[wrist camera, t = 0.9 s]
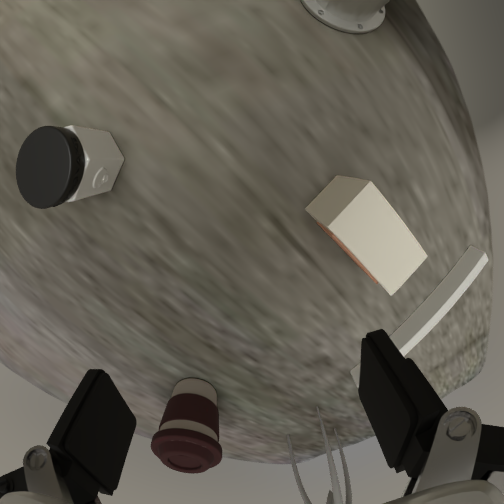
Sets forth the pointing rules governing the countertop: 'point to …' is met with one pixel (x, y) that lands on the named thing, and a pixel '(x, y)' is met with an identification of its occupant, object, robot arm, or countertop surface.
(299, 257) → the countertop surface
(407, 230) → the box
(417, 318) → the rail
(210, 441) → the coffee cup
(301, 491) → the juicer
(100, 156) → the jar
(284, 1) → the countertop surface
